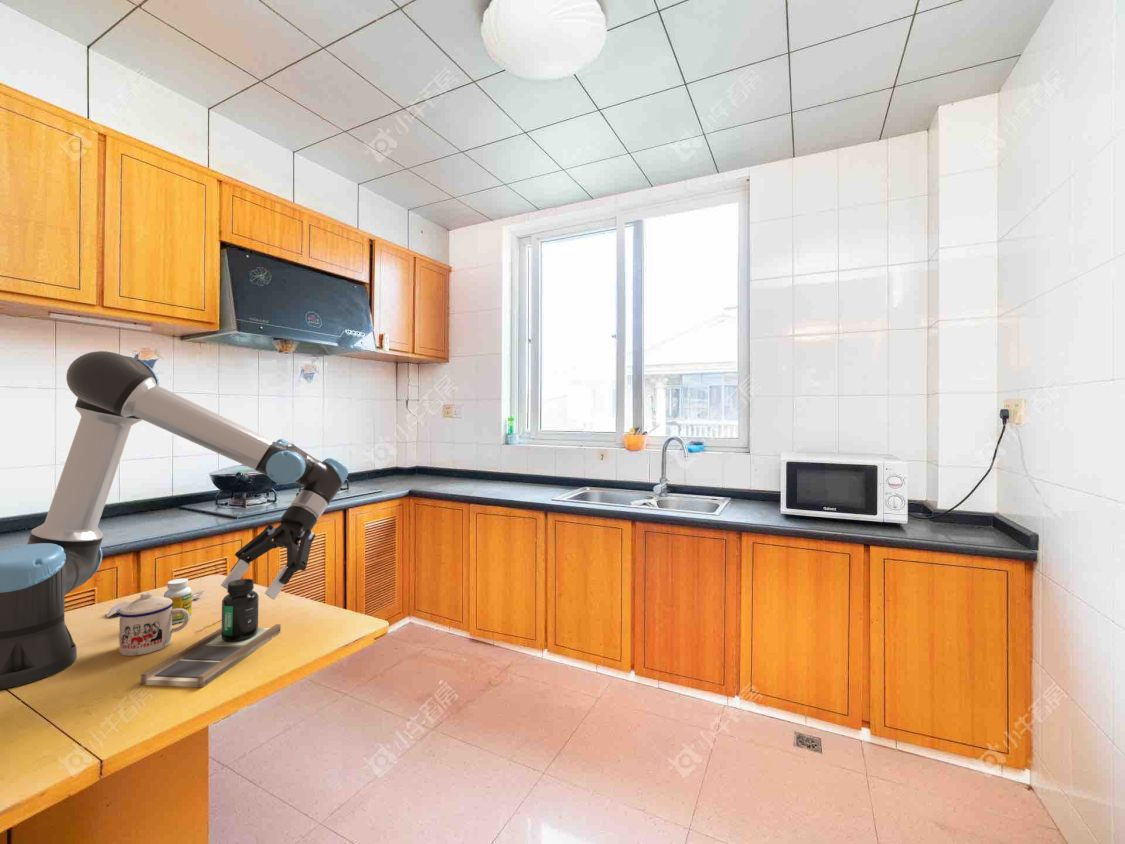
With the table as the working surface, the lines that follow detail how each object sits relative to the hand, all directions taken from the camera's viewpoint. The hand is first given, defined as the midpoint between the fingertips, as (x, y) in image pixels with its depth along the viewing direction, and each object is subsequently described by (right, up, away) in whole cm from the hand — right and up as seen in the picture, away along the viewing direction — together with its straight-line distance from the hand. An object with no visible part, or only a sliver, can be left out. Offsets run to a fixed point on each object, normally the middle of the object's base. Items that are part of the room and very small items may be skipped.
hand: (247, 592), depth 110 cm
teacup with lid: (-18, -11, -3) cm, 21 cm away
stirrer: (-35, -11, +19) cm, 41 cm away
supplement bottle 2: (-1, -10, -1) cm, 10 cm away
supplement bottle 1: (-24, -11, +10) cm, 28 cm away
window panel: (-1, -11, -7) cm, 13 cm away
